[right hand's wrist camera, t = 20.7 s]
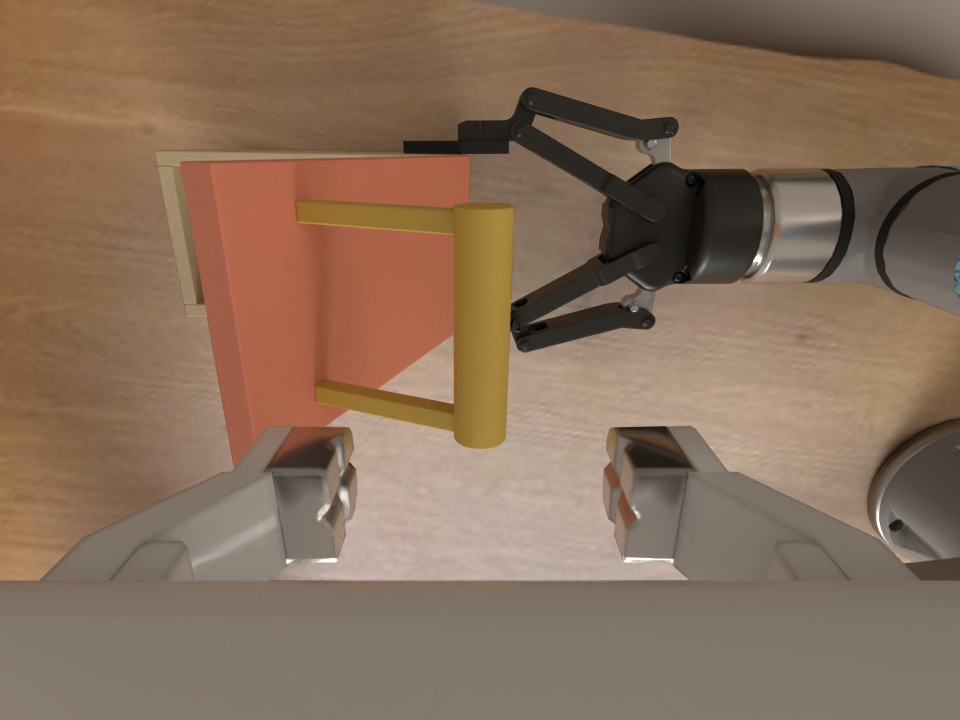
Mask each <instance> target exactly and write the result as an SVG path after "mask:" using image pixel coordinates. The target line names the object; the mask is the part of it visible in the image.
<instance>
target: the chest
mask: <svg viewBox="0 0 960 720" xmlns="http://www.w3.org/2000/svg"><path fill="white" fill-rule="evenodd" d="M155 155H156V160H157V164H158V165H159V166H158V172H159V177H160V182H161V188H162V193H163V198H164V203H165V209H166V214H167V219H168V224H169V229H170V235H171V240H172V245H173V250H174V255H175V261H176V266H177V271H178V276H179V281H180V287H181V292H182V297H183V302H184V306H185V312H186V316H207V313H206V307H205V302H204V296H203V290H202V285H201V279H200V273H199V268H198V262H197V257H196V251H195V245H194V240H193V234H192V228H191V223H190V217H189V211H188V206H187V200H186V194H185V189H184V183H183V177H182V172H181V166H180V162H182V161H218V160H264V159H311V158H358V157H404V156H451V155H453V156H463V154H404V152H374V151H315V150H256V149H211V150H156V151H155Z"/></svg>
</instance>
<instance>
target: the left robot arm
mask: <svg viewBox="0 0 960 720" xmlns="http://www.w3.org/2000/svg"><path fill="white" fill-rule="evenodd" d="M535 114H537V115H540V116H544V117H547V118H551V119H554V120H557V121H561V122H564V123H568V124H571V125H574V126H578V127H581V128H585V129H588V130H591V131H595V132H598V133H602V134H605V135H608V136H612V137H615V138H619V139H623V140H635V146H636V149H637V150H638V151H639V152H640V153H645V154H647V155H649V157H650V158H651V164H650V165H648V166H647V167H646V168H644V169H643V170H641V171H640V172H639V173H637V174H636V175H634V176H633V177H632V178H630V179H629V180H628V181H626V182H625V181H623V180H622V179H620V178H618V177H617V176H615V175H613V174H611V173H609V172H607V171H606V170H604V169H602V168H601V167H599V166H597V165H596V164H594V163H592V162H591V161H589V160H587V159H586V158H584V157H583V156H581V155H579V154H578V153H576V152H574V151H573V150H571V149H569V148H568V147H566V146H564V145H563V144H561V143H559V142H558V141H556V140H554V139H553V138H551V137H549V136H548V135H546V134H544V133H543V132H541V131H539V130H538V129H536V128H535V127H533V126H531V125H532V122H533V120H534V117H535ZM678 128H679V125H678V122H677V120H676V119H675V118H673V117H665V118H654V119H644V120H641V119H638V118H634V117H631V116H628V115H624V114H621V113H618V112H614V111H611V110H607V109H604V108H601V107H597V106H594V105H591V104H587V103H584V102H581V101H577V100H574V99H571V98H567V97H564V96H561V95H557V94H554V93H551V92H547V91H544V90H541V89H537V88H533V87H530V88H527V89H526V90H525V91H524V92H523V93H522V94H521V95H520V98H519V101H518V104H517V107H516V110H515V112H514V114H513V116H512V117H511V118H510V119H508V120H494V121H464V122H462V123H460V124H458V141H403V146H404V154H509V141H515V142H516V143H518V144H520V145H521V146H523V147H525V148H526V149H528V150H530V151H531V152H533V153H535V154H537V155H538V156H540V157H542V158H543V159H545V160H547V161H548V162H550V163H552V164H553V165H555V166H557V167H558V168H560V169H562V170H563V171H565V172H567V173H569V174H570V175H572V176H574V177H575V178H577V179H579V180H580V181H582V182H584V183H585V184H587V185H589V186H590V187H592V188H593V189H595V190H597V191H598V192H600V193H602V194H603V195H605V196H607V199H606V201H605V203H602V220H603V225H604V227H603V230H602V233H601V236H600V242H599V249H600V250H601V253H600V254H599V255H597V256H595V257H593V258H591V259H590V260H588V261H587V263H586V264H584V265H582V266H580V267H578V268H576V269H575V270H573V271H571V272H569V273H567V274H565V275H563V276H562V277H560V278H558V279H556V280H554V281H552V282H550V283H549V284H547V285H545V286H543V287H541V288H539V289H537V290H536V291H534V292H532V293H530V294H528V295H526V296H524V297H522V298H521V299H519V300H517V301H515V302H513V303H511V315H510V331H511V332H512V334H513V337H514V340H515V342H516V346H517V348H518V350H519V351H521V352H530V351H534V350H537V349H541V348H545V347H549V346H553V345H557V344H561V343H565V342H568V341H572V340H576V339H580V338H584V337H588V336H592V335H595V334H599V333H603V332H607V331H611V330H615V329H619V328H632V329H650V328H652V327H653V325H654V324H655V317H654V316H653V315H652V314H651V311H652V306H653V301H654V296H655V291H657V290H659V289H661V288H663V287H665V286H668V285H671V284H730V283H734V282H736V281H737V280H739V281H741V282H742V283H748V284H752V283H805V282H838V283H864V284H870V285H874V286H877V287H880V288H883V289H885V290H888V291H891V292H894V293H896V294H899V295H902V296H905V297H908V298H911V299H914V300H918V301H921V302H924V303H926V304H929V305H931V306H934V307H936V308H939V309H941V310H944V311H946V312H949V313H952V314H954V315H957V316H959V317H960V167H956V166H948V167H945V166H939V165H929V166H917V167H916V168H867V169H836V170H831V169H820V168H810V169H755V170H753V171H751V172H750V173H749V172H748V171H746V170H744V169H682V168H679V167H678V166H676V165H675V164H673V163H671V147H672V137H673V136H674V135H676V133H677V131H678ZM623 276H625V277H627V278H628V279H629V280H631V281H632V282H633V283H635V284H636V285H637V286H638V289H637V291H636V292H635V293H633V294H630V295H626V296H624V297H623V298H622V299H621V302H615V303H608V304H603V305H599V306H596V307H592V308H588V309H584V310H580V311H577V312H573V313H569V314H565V315H561V316H558V317H554V318H550V319H546V320H542V321H539V322H535V323H531V324H529V323H530V322H532V321H534V320H536V319H538V318H540V317H542V316H544V315H546V314H548V313H549V312H551V311H553V310H555V309H557V308H559V307H561V306H563V305H565V304H567V303H568V302H570V301H572V300H574V299H576V298H578V297H580V296H582V295H584V294H586V293H587V292H589V291H591V290H593V289H595V288H597V287H599V286H604V285H607V284H610V283H611V282H613V281H615V280H617V279H619V278H621V277H623ZM867 507H868V515H869V519H870V522H871V524H872V526H873V528H874V530H875V531H876V533H877V534H878V535H879V536H880V537H881V538H882V539H883V540H884V541H885V542H886V543H887V544H888V545H889V546H890V547H891V548H892V549H894V550H895V551H896V552H898V553H899V554H901V555H902V556H904V557H905V558H907V559H909V560H911V561H913V563H904V564H905V565H906V566H907V567H908V568H909V569H910V570H911V571H912V572H913V573H914V574H915V575H916V576H917V577H918V578H919V579H920V580H960V419H959V420H954V421H950V422H946V423H943V424H940V425H937V426H935V427H932V428H930V429H928V430H926V431H924V432H922V433H920V434H918V435H917V436H915V437H913V438H912V439H910V440H909V441H907V442H906V443H905V444H903V445H902V446H901V447H900V448H898V449H897V450H896V451H895V452H894V453H893V454H892V455H891V456H890V457H889V458H888V459H887V461H886V462H885V463H884V464H883V466H882V467H881V468H880V470H879V471H878V473H877V475H876V477H875V478H874V481H873V483H872V485H871V488H870V491H869V496H868V505H867Z"/></svg>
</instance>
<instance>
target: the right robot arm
mask: <svg viewBox="0 0 960 720" xmlns="http://www.w3.org/2000/svg"><path fill="white" fill-rule="evenodd" d="M353 450H354V445H353V437H352V432H351V430H350V428H349V427H303V426H297V427H295V426H271V427H266V428H265V429H264V430H263V431H262V433H261V434H260V435H259V436H258V438H257V439H256V440H255V442H254V443H253V444H252V446H251V447H250V448H249V450H248V451H247V452H246V453H245V455H244V456H243V457H242V459H241V460H240V461H239V463H238V464H237V465H236V466H235V468H234V469H233V470H232V472H222V473H220V474H217V475H215V476H213V477H211V478H209V479H207V480H205V481H203V482H200V483H198V484H196V485H194V486H192V487H190V488H188V489H186V490H184V491H181V492H179V493H177V494H175V495H173V496H171V497H169V498H167V499H165V500H162V501H160V502H158V503H156V504H154V505H152V506H150V507H148V508H145V509H143V510H141V511H139V512H137V513H135V514H133V515H131V516H129V517H126V518H124V519H122V520H120V521H118V522H116V523H114V524H112V525H110V526H107V527H105V528H103V529H101V530H99V531H97V532H95V533H93V534H91V535H88V536H86V537H84V538H82V539H81V540H80V541H79V542H78V543H77V544H76V545H75V546H74V547H73V548H72V549H71V550H70V551H69V552H68V553H67V554H66V555H65V556H64V557H63V558H62V559H61V560H60V561H59V562H58V563H57V564H56V565H55V566H53V567H52V568H51V569H50V570H49V571H48V572H47V573H46V574H45V575H44V576H43V577H42V578H41V579H40V580H39V581H0V720H960V580H920V579H919V578H918V577H917V576H916V575H915V574H914V573H913V572H912V571H911V570H910V569H909V568H908V567H907V566H906V565H905V564H904V563H903V562H902V561H901V560H900V559H899V558H898V557H897V556H896V555H895V554H894V553H893V552H892V551H891V550H890V549H889V548H888V547H887V546H886V545H885V544H883V543H882V542H881V541H880V540H879V539H877V538H875V537H873V536H871V535H869V534H867V533H865V532H863V531H861V530H859V529H856V528H854V527H852V526H850V525H848V524H846V523H844V522H842V521H840V520H837V519H835V518H833V517H831V516H829V515H827V514H825V513H823V512H821V511H818V510H816V509H814V508H812V507H810V506H808V505H806V504H804V503H802V502H799V501H797V500H795V499H793V498H791V497H789V496H787V495H785V494H783V493H781V492H778V491H776V490H774V489H772V488H770V487H768V486H766V485H764V484H762V483H759V482H757V481H755V480H753V479H751V478H749V477H747V476H745V475H743V474H740V473H738V472H728V470H727V469H726V468H725V466H724V465H723V464H722V463H721V461H720V460H719V459H718V457H717V456H716V455H715V454H714V452H713V451H712V450H711V448H710V447H709V446H708V445H707V443H706V442H705V441H704V439H703V438H702V437H701V435H700V434H699V433H698V432H697V430H696V429H695V428H694V427H692V426H671V427H666V426H655V427H613V428H610V429H609V432H608V436H607V444H606V450H607V452H608V455H609V458H610V460H611V462H610V463H609V464H608V465H607V466H606V468H605V469H604V475H603V499H604V505H605V510H606V513H607V516H608V519H609V520H611V521H612V522H613V523H615V532H614V537H615V539H616V542H617V545H618V548H619V551H620V554H621V556H622V559H623V562H644V563H673V566H674V567H675V568H676V569H677V570H679V571H680V572H681V573H682V574H683V575H684V576H685V577H687V578H688V579H689V580H625V581H270V580H271V579H273V578H274V577H275V576H276V575H277V574H278V573H279V572H281V571H282V570H283V569H284V568H285V567H286V566H287V563H315V562H337V559H338V557H339V554H340V551H341V548H342V545H343V542H344V539H345V537H346V532H345V523H347V522H348V521H349V520H351V519H352V516H353V513H354V510H355V504H356V497H357V474H356V469H355V468H354V466H353V465H352V464H351V463H350V462H349V460H350V457H351V455H352V452H353Z"/></svg>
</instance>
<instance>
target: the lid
mask: <svg viewBox="0 0 960 720" xmlns="http://www.w3.org/2000/svg"><path fill="white" fill-rule="evenodd" d="M180 166H181V172H182V177H183V183H184V189H185V194H186V200H187V206H188V211H189V217H190V223H191V228H192V234H193V240H194V245H195V251H196V257H197V262H198V268H199V273H200V279H201V285H202V290H203V296H204V302H205V307H206V313H207V319H208V324H209V330H210V336H211V341H212V347H213V353H214V358H215V364H216V369H217V375H218V381H219V386H220V392H221V398H222V403H223V409H224V415H225V420H226V426H227V432H228V437H229V443H230V449H231V454H232V460H233V465H234V467H235V466H236V465H237V464H238V463H239V461H240V460H241V459H242V457H243V456H244V455H245V453H246V452H247V451H248V450H249V448H250V447H251V446H252V444H253V443H254V442H255V440H256V439H257V438H258V436H259V435H260V434H261V433H262V431H263V430H264V429H265V428H266V427H271V426H295V427H297V426H303V427H325V426H327V425H328V424H330V423H331V422H332V421H334V420H335V419H337V418H338V417H339V416H341V415H342V414H343V413H345V412H346V411H348V410H353V411H358V412H363V413H368V414H372V415H377V416H382V417H386V418H391V419H396V420H400V421H405V422H410V423H414V424H419V425H424V426H429V427H433V428H438V429H443V430H447V431H452V432H454V438H455V440H456V441H457V442H458V443H459V444H460V445H462V446H464V447H467V448H472V449H490V448H494V447H497V446H499V445H500V444H502V443H503V442H504V440H505V438H506V419H507V393H508V367H509V341H510V315H511V289H512V263H513V238H514V212H515V208H514V206H512V205H509V204H501V203H470V156H453V155H451V156H404V157H358V158H311V159H264V160H218V161H182V162H180ZM453 334H454V404H450V403H445V402H439V401H434V400H429V399H424V398H419V397H414V396H409V395H403V394H398V393H393V392H388V391H383V390H378V388H380V387H381V386H382V385H384V384H385V383H387V382H388V381H389V380H391V379H392V378H393V377H395V376H396V375H398V374H399V373H400V372H402V371H403V370H405V369H406V368H407V367H409V366H410V365H412V364H413V363H414V362H416V361H417V360H419V359H420V358H421V357H423V356H424V355H425V354H427V353H428V352H430V351H431V350H432V349H434V348H435V347H437V346H438V345H439V344H441V343H442V342H444V341H445V340H446V339H448V338H449V337H450V336H452V335H453Z"/></svg>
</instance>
